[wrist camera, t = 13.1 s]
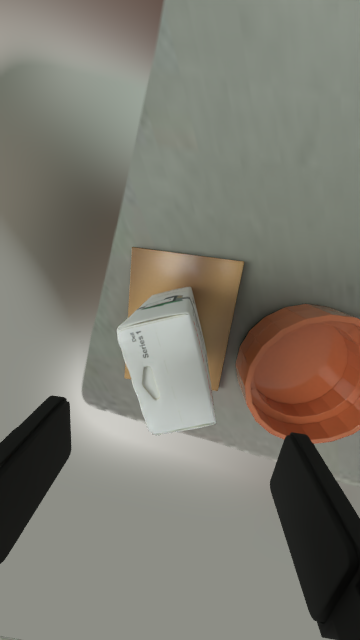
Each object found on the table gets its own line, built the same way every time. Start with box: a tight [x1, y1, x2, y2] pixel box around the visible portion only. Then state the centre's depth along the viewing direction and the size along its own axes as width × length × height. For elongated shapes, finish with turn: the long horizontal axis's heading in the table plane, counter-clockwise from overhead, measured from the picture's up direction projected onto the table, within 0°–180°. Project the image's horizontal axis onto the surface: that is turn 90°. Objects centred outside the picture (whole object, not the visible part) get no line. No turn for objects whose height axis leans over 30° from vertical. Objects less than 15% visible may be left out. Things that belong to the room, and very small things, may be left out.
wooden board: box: [125, 247, 244, 391], centre depth 25 cm, size 12×16×1 cm
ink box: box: [117, 287, 216, 435], centre depth 19 cm, size 9×5×12 cm, turn 14°
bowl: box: [236, 304, 360, 444], centre depth 24 cm, size 15×15×5 cm
